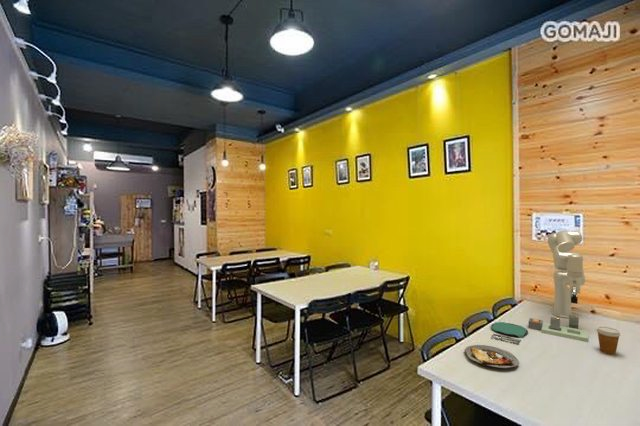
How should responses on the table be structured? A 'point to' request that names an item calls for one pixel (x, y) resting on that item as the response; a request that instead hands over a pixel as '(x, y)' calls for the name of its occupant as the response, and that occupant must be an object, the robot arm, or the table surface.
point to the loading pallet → (563, 332)
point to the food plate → (491, 356)
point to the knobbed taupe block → (573, 321)
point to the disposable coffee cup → (608, 339)
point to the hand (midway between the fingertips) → (574, 301)
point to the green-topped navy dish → (509, 331)
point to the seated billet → (555, 323)
